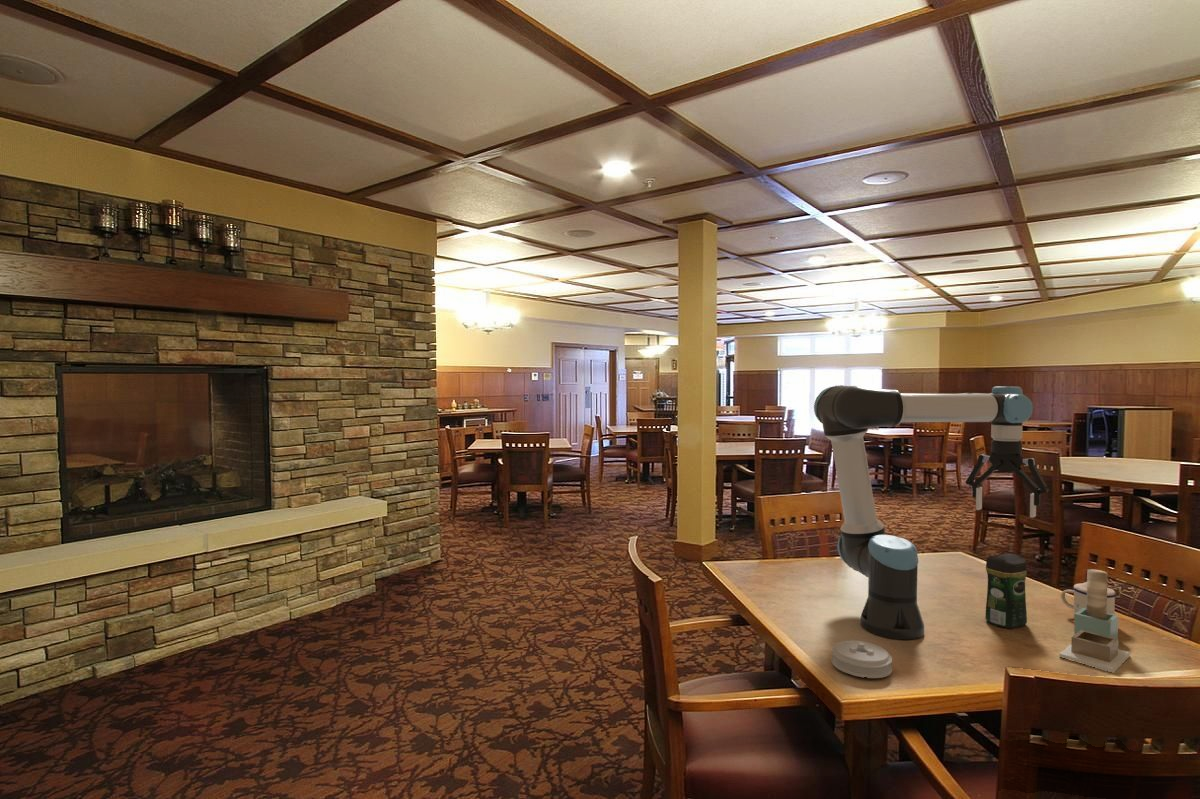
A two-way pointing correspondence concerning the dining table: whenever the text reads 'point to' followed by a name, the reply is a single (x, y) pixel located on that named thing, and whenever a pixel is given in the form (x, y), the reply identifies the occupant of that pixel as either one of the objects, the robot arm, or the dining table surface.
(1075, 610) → the teacup with lid
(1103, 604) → the dowel
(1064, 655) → the board
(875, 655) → the lid
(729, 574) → the dining table surface
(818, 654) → the dining table surface
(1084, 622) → the pen pot
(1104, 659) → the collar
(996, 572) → the coffee jar
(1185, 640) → the dining table surface
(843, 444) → the robot arm
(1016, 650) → the dining table surface
